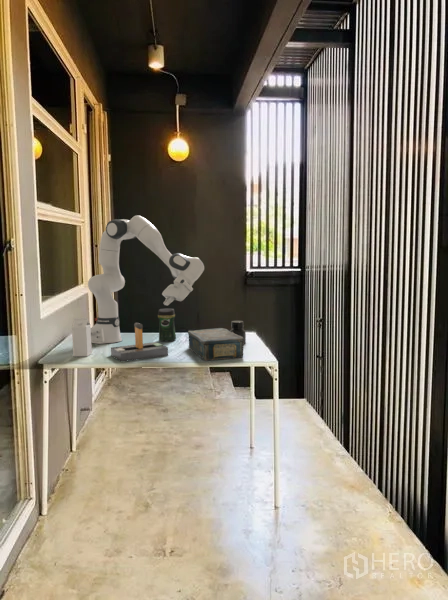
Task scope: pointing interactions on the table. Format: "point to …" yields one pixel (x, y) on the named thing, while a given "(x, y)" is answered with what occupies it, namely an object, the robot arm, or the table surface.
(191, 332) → the metal box
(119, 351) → the breaker box
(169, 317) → the coffee jar
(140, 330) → the lever
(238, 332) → the ink bottle
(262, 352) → the table surface
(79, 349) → the milk carton
